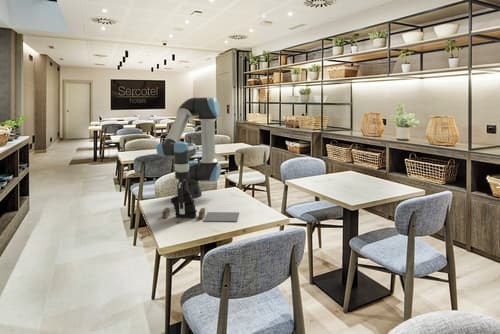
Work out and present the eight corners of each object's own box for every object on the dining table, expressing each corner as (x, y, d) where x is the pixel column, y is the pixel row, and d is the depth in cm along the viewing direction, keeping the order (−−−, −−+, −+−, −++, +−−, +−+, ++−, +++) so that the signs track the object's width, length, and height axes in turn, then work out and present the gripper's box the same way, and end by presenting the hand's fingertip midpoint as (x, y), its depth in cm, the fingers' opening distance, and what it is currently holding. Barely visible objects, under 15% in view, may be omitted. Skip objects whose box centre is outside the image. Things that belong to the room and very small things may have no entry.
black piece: (200, 215, 190) (187, 191, 187) (179, 224, 192) (166, 201, 190) (202, 213, 193) (189, 189, 191) (181, 222, 195) (169, 199, 193)
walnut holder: (162, 218, 190) (162, 211, 189) (166, 214, 196) (166, 207, 196) (202, 219, 188) (202, 212, 188) (205, 215, 195) (204, 208, 195)
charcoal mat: (207, 213, 199) (207, 212, 199) (239, 213, 198) (239, 212, 198) (203, 221, 185) (203, 220, 185) (237, 221, 184) (237, 220, 184)
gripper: (179, 167, 197) (181, 206, 202) (170, 174, 178) (172, 217, 182) (192, 167, 197) (194, 206, 201) (184, 174, 178) (186, 217, 182)
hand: (183, 211), depth 192 cm, fingers open, 7 cm apart
